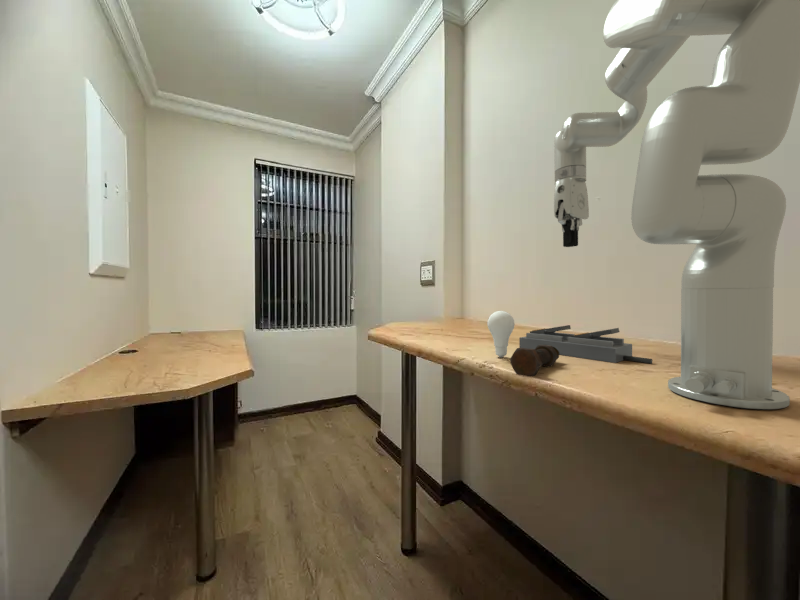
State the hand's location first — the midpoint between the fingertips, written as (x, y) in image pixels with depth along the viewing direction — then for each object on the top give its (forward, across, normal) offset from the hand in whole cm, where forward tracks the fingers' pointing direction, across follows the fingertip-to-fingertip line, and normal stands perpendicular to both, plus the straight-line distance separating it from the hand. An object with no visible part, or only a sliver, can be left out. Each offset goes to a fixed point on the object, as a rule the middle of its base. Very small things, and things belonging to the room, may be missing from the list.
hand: (570, 246), depth 89 cm
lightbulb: (+27, -25, +4) cm, 37 cm away
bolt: (+28, -28, -8) cm, 40 cm away
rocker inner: (+22, -8, -10) cm, 26 cm away
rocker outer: (+22, -8, +2) cm, 24 cm away
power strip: (+27, -8, -6) cm, 29 cm away
